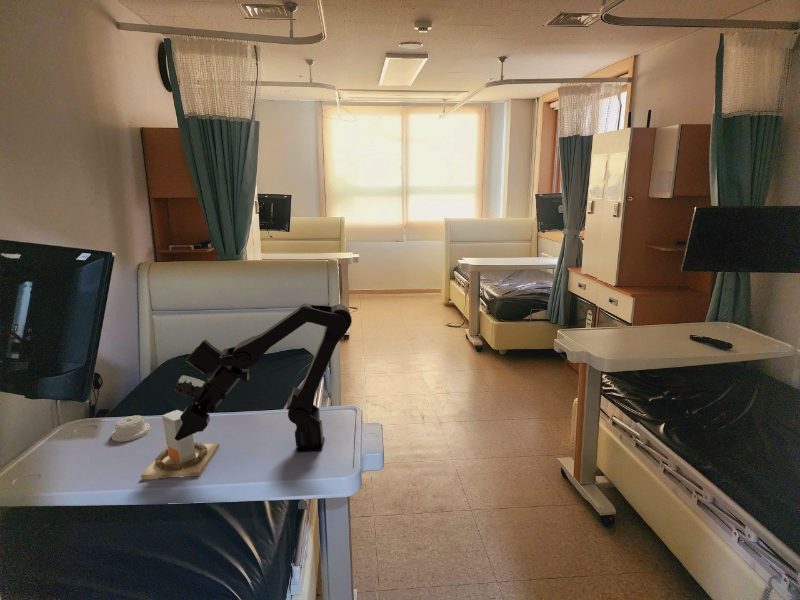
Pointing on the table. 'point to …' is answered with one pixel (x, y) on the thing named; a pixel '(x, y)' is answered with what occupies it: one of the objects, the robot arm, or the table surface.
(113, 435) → the mechanical component
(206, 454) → the board
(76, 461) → the table surface
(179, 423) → the skincare box
